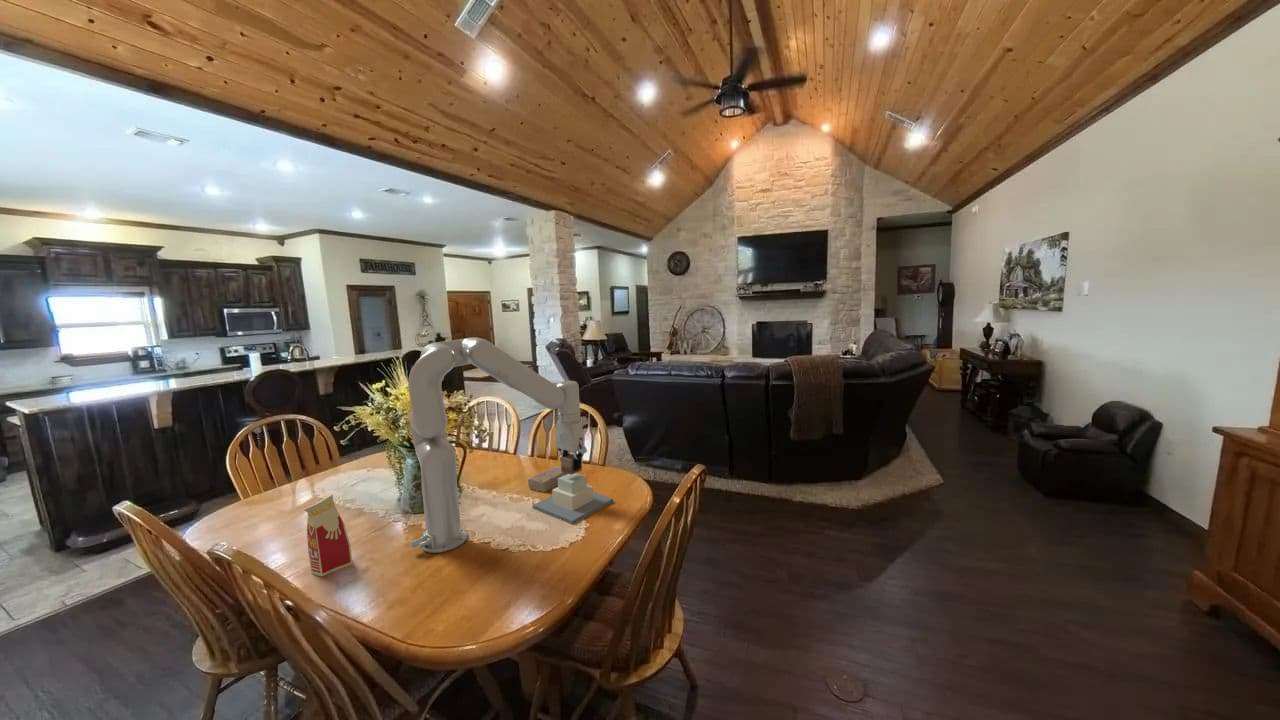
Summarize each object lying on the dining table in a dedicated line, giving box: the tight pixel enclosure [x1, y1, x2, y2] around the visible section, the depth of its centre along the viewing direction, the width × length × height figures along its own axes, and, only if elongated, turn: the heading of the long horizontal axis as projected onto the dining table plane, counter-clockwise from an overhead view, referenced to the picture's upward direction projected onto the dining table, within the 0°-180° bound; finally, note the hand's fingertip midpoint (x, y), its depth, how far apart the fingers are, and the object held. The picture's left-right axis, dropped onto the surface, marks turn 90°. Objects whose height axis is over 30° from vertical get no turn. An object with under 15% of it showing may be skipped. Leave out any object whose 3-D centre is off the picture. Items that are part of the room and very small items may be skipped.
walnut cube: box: [560, 453, 583, 475], centre depth 156 cm, size 5×5×5 cm
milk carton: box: [302, 493, 353, 577], centre depth 124 cm, size 9×9×20 cm
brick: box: [527, 465, 567, 493], centre depth 178 cm, size 17×8×5 cm, turn 152°
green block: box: [557, 472, 588, 494], centre depth 157 cm, size 7×7×4 cm
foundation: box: [531, 484, 614, 525], centre depth 158 cm, size 20×20×6 cm
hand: (572, 467), depth 157 cm, fingers closed on walnut cube, 4 cm apart
